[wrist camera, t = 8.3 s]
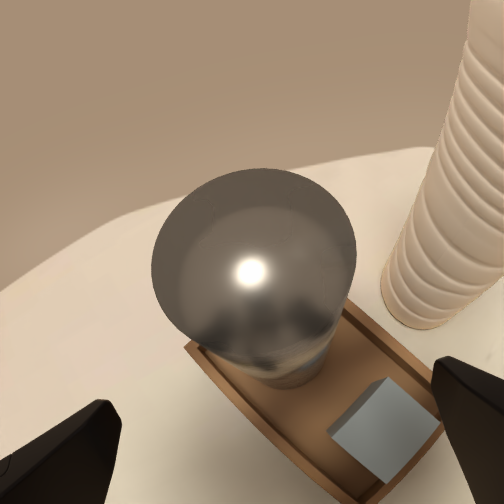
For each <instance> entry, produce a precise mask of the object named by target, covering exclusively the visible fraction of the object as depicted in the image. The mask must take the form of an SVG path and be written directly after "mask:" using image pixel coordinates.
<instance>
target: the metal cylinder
mask: <svg viewBox="0 0 504 504" xmlns="http://www.w3.org/2000/svg"><path fill="white" fill-rule="evenodd" d="M356 256H357V252H356V240H355V236H354V231H353V228H352V226H351V223H350V220H349V218H348V216H347V215H346V213H345V211H344V209H343V208H342V207H341V205H340V204H339V203H338V201H337V200H336V199H335V198H334V197H333V196H332V195H331V194H330V193H329V192H328V191H327V190H325V189H324V188H323V187H321V186H320V185H319V184H317V183H315V182H313V181H312V180H310V179H308V178H305V177H303V176H301V175H298V174H295V173H292V172H288V171H282V170H277V169H265V168H261V169H248V170H241V171H237V172H232V173H229V174H226V175H223V176H221V177H217V178H215V179H213V180H211V181H209V182H207V183H205V184H204V185H202V186H200V187H199V188H197V189H196V190H194V191H193V192H192V193H190V194H189V195H188V196H187V197H185V198H184V199H183V200H182V201H181V202H180V203H179V204H178V205H177V206H176V208H175V209H174V210H173V211H172V212H171V214H170V215H169V216H168V218H167V219H166V221H165V223H164V224H163V226H162V228H161V230H160V232H159V234H158V237H157V239H156V242H155V246H154V250H153V255H152V263H151V275H152V282H153V288H154V291H155V294H156V297H157V300H158V302H159V304H160V306H161V308H162V310H163V311H164V313H165V314H166V316H167V317H168V319H169V320H170V321H171V322H172V323H173V324H174V325H175V326H176V328H177V329H178V330H180V331H181V332H182V333H184V334H185V335H186V336H187V337H189V338H190V339H192V340H193V341H195V342H196V343H198V344H199V345H201V346H202V347H204V348H205V349H207V350H208V351H210V352H212V353H213V354H215V355H216V356H218V357H219V358H221V359H223V360H224V361H226V362H228V363H229V364H231V365H232V366H234V367H236V368H237V369H239V370H241V371H242V372H244V373H246V374H247V375H249V376H251V377H252V378H254V379H256V380H258V381H259V382H261V383H263V384H265V385H267V386H269V387H271V388H275V389H280V390H288V389H295V388H298V387H301V386H303V385H305V384H307V383H308V382H310V381H311V380H312V379H313V378H314V377H315V376H316V375H317V374H318V373H319V371H320V370H321V368H322V366H323V363H324V361H325V358H326V356H327V353H328V350H329V348H330V345H331V342H332V339H333V337H334V334H335V331H336V328H337V325H338V323H339V320H340V317H341V314H342V311H343V308H344V305H345V302H346V299H347V296H348V293H349V290H350V286H351V283H352V280H353V276H354V272H355V268H356Z"/></svg>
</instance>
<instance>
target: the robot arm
mask: <svg viewBox="0 0 504 504" xmlns="http://www.w3.org/2000/svg"><path fill="white" fill-rule="evenodd" d="M431 390H432V393H433V396H434V399H435V402H436V404H437V407H438V410H439V413H440V416H441V419H442V422H443V425H444V428H445V431H446V434H447V436H448V439H449V441H450V443H451V445H452V448H453V450H454V452H455V454H456V457H457V459H458V461H459V464H460V466H461V468H462V471H463V473H464V475H465V478H466V480H467V483H468V485H469V488H470V490H471V493H472V495H473V498H474V501H475V503H476V504H504V380H503V379H501V378H498V377H496V376H494V375H492V374H489V373H487V372H485V371H483V370H480V369H478V368H476V367H474V366H471V365H469V364H467V363H465V362H462V361H460V360H458V359H456V358H453V357H451V356H446V357H442V358H439V359H437V360H436V361H435V363H434V367H433V373H432V379H431ZM121 428H122V422H121V419H120V417H119V415H118V413H117V412H116V410H115V408H114V406H113V405H112V403H111V402H110V401H109V400H104V399H97V400H95V401H93V402H92V403H90V404H89V405H87V406H86V407H84V408H82V409H81V410H79V411H78V412H76V413H75V414H73V415H72V416H70V417H69V418H67V419H66V420H64V421H62V422H61V423H59V424H58V425H56V426H55V427H53V428H52V429H50V430H48V431H47V432H45V433H44V434H42V435H41V436H39V437H37V438H36V439H34V440H33V441H31V442H29V443H28V444H26V445H25V446H23V447H21V448H20V449H18V450H16V451H15V452H13V453H12V454H10V455H8V456H7V457H5V458H3V459H2V460H0V504H104V503H105V499H106V496H107V492H108V488H109V485H110V481H111V478H112V474H113V470H114V466H115V461H116V455H117V450H118V444H119V439H120V433H121Z"/></svg>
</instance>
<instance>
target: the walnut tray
mask: <svg viewBox="0 0 504 504" xmlns="http://www.w3.org/2000/svg"><path fill="white" fill-rule="evenodd" d="M184 349H185V350H186V351H187V352H188V353H189V354H190V356H191V357H192V358H193V359H194V360H195V362H196V363H197V364H198V365H199V366H200V367H201V369H202V370H203V371H204V372H205V373H206V374H207V375H208V377H209V378H210V379H211V380H212V381H213V382H214V383H215V384H216V385H217V387H218V388H219V389H220V390H221V391H222V392H223V393H224V394H225V395H226V396H227V398H228V399H229V400H230V401H231V402H232V403H233V404H234V405H235V406H236V407H237V408H238V409H239V410H240V411H241V412H242V413H243V414H244V415H245V416H246V417H247V419H248V420H249V421H250V422H251V423H252V424H253V425H254V426H255V427H256V428H257V429H258V430H259V431H260V432H261V433H262V434H263V435H264V436H265V437H266V438H268V439H269V440H270V441H271V442H272V443H273V444H274V445H275V446H276V447H277V448H278V449H279V450H280V451H281V452H282V453H283V454H284V455H285V456H287V457H288V458H289V459H290V460H291V461H292V462H293V463H294V464H295V465H296V466H297V467H299V468H300V469H301V470H302V471H303V472H304V473H305V474H307V475H308V476H309V477H310V478H311V479H312V480H313V481H315V482H316V483H317V484H318V485H319V486H321V487H322V488H323V489H324V490H325V491H327V492H328V493H329V494H330V495H331V496H333V497H334V498H335V499H336V500H338V501H339V502H340V503H341V504H377V503H378V502H379V501H380V500H381V499H383V498H384V497H385V496H386V495H387V494H388V493H389V492H390V491H391V490H392V489H393V488H394V487H395V486H396V485H397V484H398V483H399V482H400V481H401V480H402V479H403V478H404V477H405V476H406V475H407V474H408V472H409V471H410V470H411V469H412V468H413V467H414V466H415V465H416V464H417V463H418V462H419V460H420V459H421V458H422V457H423V456H424V455H425V453H426V452H427V451H428V450H429V449H430V448H431V446H432V445H433V444H434V443H435V441H436V440H437V439H438V438H439V436H440V435H441V434H442V433H443V431H444V430H445V428H444V425H443V422H442V419H441V416H440V413H439V410H438V407H437V404H436V402H435V399H434V396H433V393H432V390H431V379H432V373H433V372H432V371H431V370H430V369H429V368H428V367H426V366H425V365H424V364H423V363H422V362H421V361H420V360H419V359H417V358H416V357H415V356H414V355H413V354H412V353H411V352H409V351H408V350H407V349H406V348H405V347H404V346H403V345H401V344H400V343H399V342H398V341H397V340H396V339H395V338H393V337H392V336H391V335H390V334H389V333H388V332H387V331H385V330H384V329H383V328H382V327H381V326H380V325H378V324H377V323H376V322H375V321H374V320H373V319H372V318H370V317H369V316H368V315H367V314H366V313H365V312H363V311H362V310H361V309H360V308H359V307H357V306H356V305H355V304H354V303H353V302H352V301H350V300H349V299H348V298H347V299H346V302H345V305H344V308H343V311H342V314H341V317H340V320H339V323H338V325H337V328H336V331H335V334H334V337H333V339H332V342H331V345H330V348H329V350H328V353H327V356H326V358H325V361H324V363H323V366H322V368H321V370H320V371H319V373H318V374H317V375H316V376H315V377H314V378H313V379H312V380H311V381H310V382H308V383H307V384H305V385H303V386H301V387H298V388H295V389H288V390H280V389H275V388H271V387H269V386H267V385H265V384H263V383H261V382H259V381H258V380H256V379H254V378H252V377H251V376H249V375H247V374H246V373H244V372H242V371H241V370H239V369H237V368H236V367H234V366H232V365H231V364H229V363H228V362H226V361H224V360H223V359H221V358H219V357H218V356H216V355H215V354H213V353H212V352H210V351H208V350H207V349H205V348H204V347H202V346H201V345H199V344H198V343H196V342H195V341H193V340H191V341H190V342H189V343H188V344H186V345H185V346H184ZM386 377H389V378H390V379H392V380H393V381H394V382H395V383H396V384H397V385H398V386H400V387H401V388H402V389H403V390H404V391H405V392H406V393H407V394H409V395H410V396H411V397H412V398H413V399H414V400H415V401H417V402H418V403H419V404H420V405H421V406H422V407H423V408H425V409H426V410H427V411H428V412H429V413H430V414H431V415H432V416H434V417H435V418H436V419H437V420H438V421H439V422H440V424H439V426H438V427H437V428H436V430H435V431H434V432H433V433H432V435H431V436H430V437H429V438H428V439H427V441H426V442H425V443H424V444H423V445H422V447H421V448H420V449H419V450H418V451H417V452H416V454H415V455H414V456H413V457H412V458H411V459H410V460H409V461H408V462H407V464H406V465H405V466H404V467H403V468H402V469H401V470H400V471H399V472H398V473H397V474H396V475H395V476H394V477H393V478H392V479H391V480H390V481H389V482H388V483H387V484H386V483H384V482H383V481H382V480H381V479H379V478H378V477H377V476H376V475H374V474H373V473H372V472H371V471H370V470H368V469H367V468H366V467H365V466H364V465H362V464H361V463H360V462H359V461H358V460H356V459H355V458H354V457H353V456H352V455H351V454H349V453H348V452H347V451H346V450H345V449H344V448H342V447H341V446H340V445H339V444H338V443H337V442H336V441H334V440H333V439H332V438H331V437H330V435H329V434H328V433H327V432H326V430H327V429H328V428H329V427H330V426H331V425H332V424H333V423H334V422H335V421H336V420H337V419H338V418H339V417H340V416H341V415H342V414H343V413H344V412H345V411H346V410H347V409H348V408H349V407H350V406H351V405H352V404H353V403H354V402H355V401H356V400H357V398H358V397H359V396H360V395H361V394H362V393H363V392H364V391H365V390H366V389H367V388H368V386H369V385H370V384H371V383H372V382H375V381H378V380H380V379H383V378H386Z"/></svg>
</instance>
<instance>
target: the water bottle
mask: <svg viewBox="0 0 504 504" xmlns="http://www.w3.org/2000/svg"><path fill="white" fill-rule="evenodd" d="M467 38H468V39H467V40H466V42H465V44H464V48H463V59H462V60H461V63H460V66H459V71H458V77H457V79H456V82H455V86H454V93H453V95H452V97H451V100H450V104H449V110H448V112H447V114H446V117H445V121H444V125H443V127H442V130H441V133H440V137H439V140H438V142H437V145H436V147H435V150H434V152H433V154H432V157H431V159H430V162H429V165H428V168H427V171H426V176H425V178H424V180H423V182H422V184H421V186H420V189H419V191H418V194H417V197H416V200H415V202H414V204H413V206H412V208H411V211H410V213H409V217H408V219H407V220H406V222H405V225H404V227H403V229H402V232H401V234H400V237H399V239H398V240H397V242H396V244H395V247H394V249H393V251H392V253H391V255H390V257H389V259H388V261H387V263H386V265H385V267H384V270H383V273H382V278H381V291H382V296H383V298H384V300H385V304H386V306H387V308H388V309H389V311H390V312H391V314H392V315H393V316H394V317H395V318H396V319H397V320H399V321H401V322H402V323H403V324H404V325H406V326H409V327H411V328H415V329H432V328H435V327H438V326H440V325H442V324H443V323H445V322H446V321H448V320H449V319H451V318H452V317H453V316H454V315H456V314H457V313H458V312H460V311H461V310H462V309H464V308H465V307H466V306H467V305H468V304H469V303H471V302H473V301H474V300H475V299H477V298H478V297H479V296H480V295H481V294H482V293H483V292H484V291H486V290H487V289H489V288H490V287H491V286H493V285H494V284H495V283H496V282H497V281H498V280H499V279H500V278H501V277H502V276H504V0H471V2H470V9H469V21H468V28H467Z"/></svg>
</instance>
